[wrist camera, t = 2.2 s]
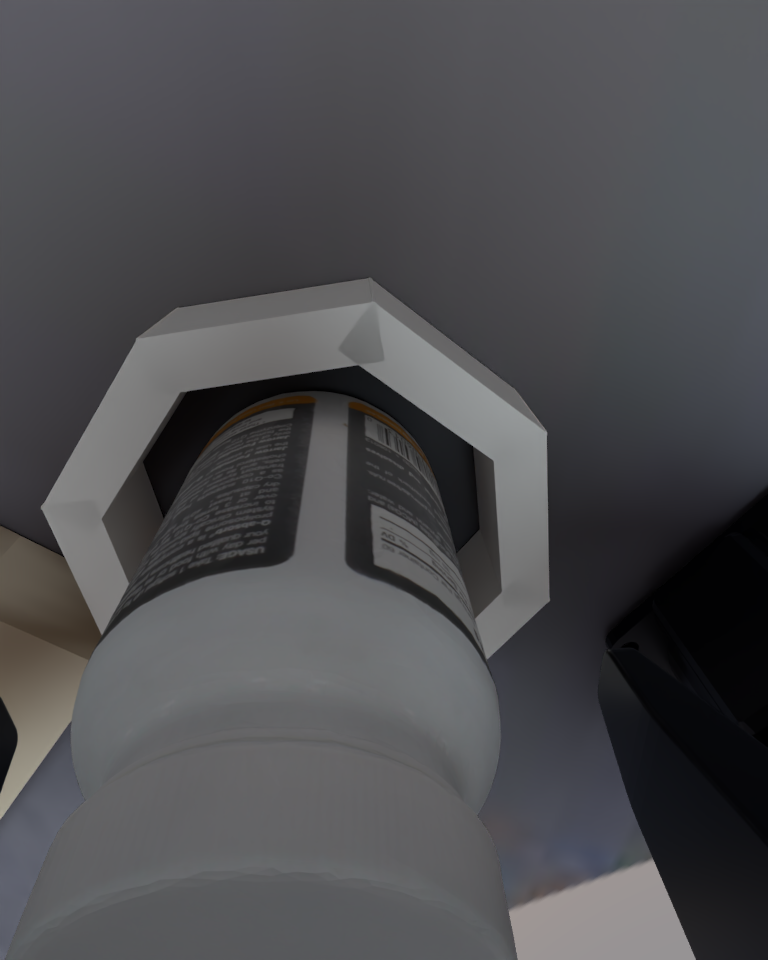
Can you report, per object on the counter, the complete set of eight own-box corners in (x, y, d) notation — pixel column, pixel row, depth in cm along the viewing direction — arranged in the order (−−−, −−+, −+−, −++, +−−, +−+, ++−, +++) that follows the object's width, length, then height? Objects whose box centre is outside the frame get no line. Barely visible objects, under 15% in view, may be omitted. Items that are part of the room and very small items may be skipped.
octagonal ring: (601, 455, 14) (649, 508, 12) (363, 698, 17) (364, 775, 15) (248, 182, 11) (222, 185, 9) (41, 538, 14) (-16, 605, 12)
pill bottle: (211, 593, 15) (19, 1164, 7) (180, 380, 13) (-210, 845, 4) (431, 591, 16) (530, 1134, 7) (445, 380, 13) (638, 818, 4)
